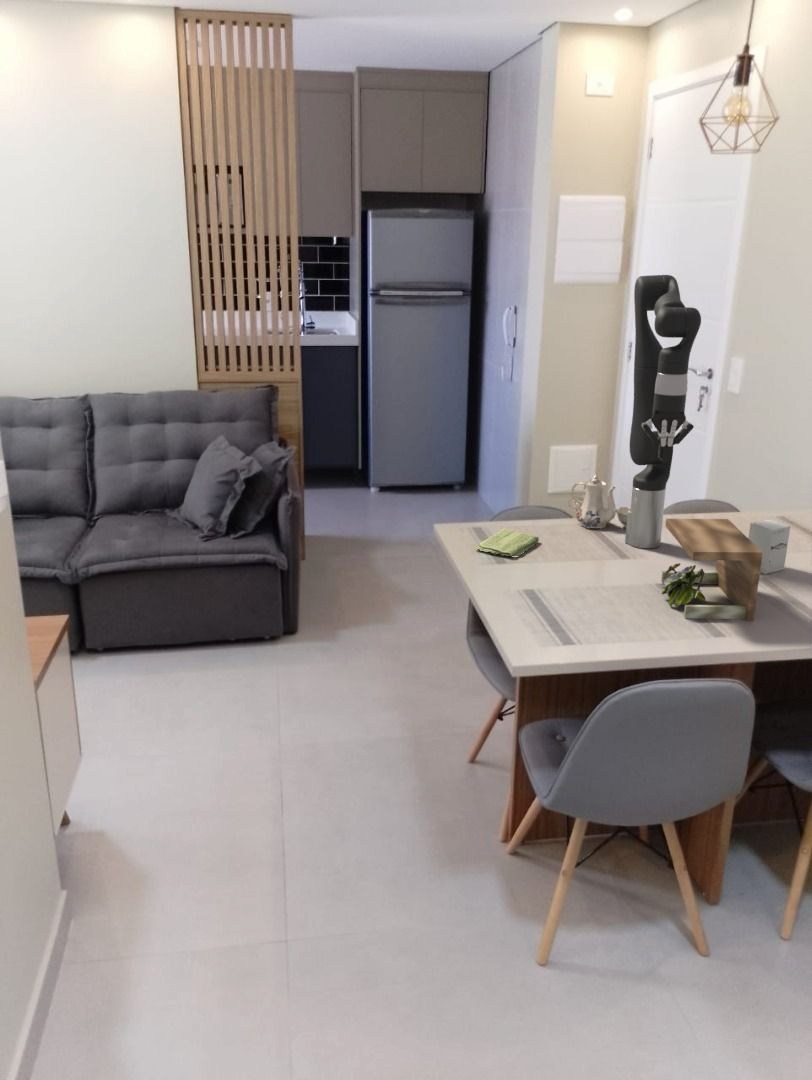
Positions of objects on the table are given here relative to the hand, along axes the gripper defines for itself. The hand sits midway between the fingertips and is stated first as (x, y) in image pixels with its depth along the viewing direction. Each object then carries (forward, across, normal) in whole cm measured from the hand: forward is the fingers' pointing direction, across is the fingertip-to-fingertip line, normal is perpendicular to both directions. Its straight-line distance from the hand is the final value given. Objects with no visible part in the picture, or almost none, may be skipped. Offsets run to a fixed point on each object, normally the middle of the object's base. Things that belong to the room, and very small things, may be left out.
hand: (663, 460), depth 221 cm
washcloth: (+33, +36, -23) cm, 54 cm away
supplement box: (+32, -32, -8) cm, 46 cm away
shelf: (+32, -10, +14) cm, 36 cm away
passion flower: (+32, -4, +15) cm, 36 cm away
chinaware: (+33, +6, -47) cm, 58 cm away
